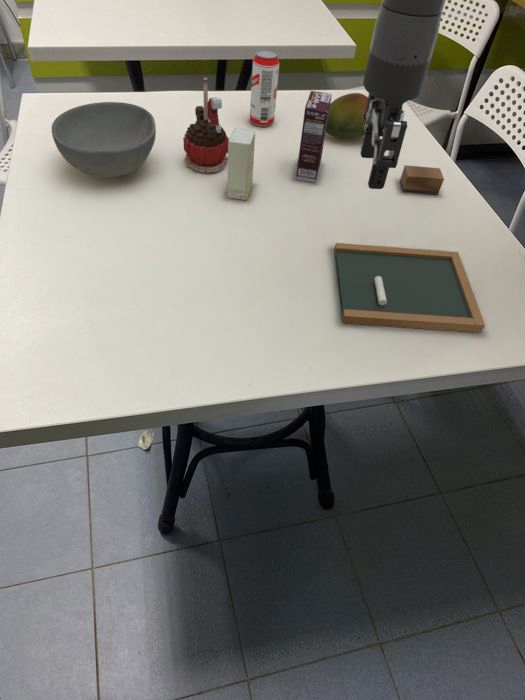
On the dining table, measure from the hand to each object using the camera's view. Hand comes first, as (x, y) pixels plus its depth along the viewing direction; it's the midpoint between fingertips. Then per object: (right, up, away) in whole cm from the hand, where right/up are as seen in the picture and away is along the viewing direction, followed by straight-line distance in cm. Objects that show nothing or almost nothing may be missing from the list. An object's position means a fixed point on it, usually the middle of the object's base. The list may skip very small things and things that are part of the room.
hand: (371, 171), depth 73 cm
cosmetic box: (-21, +7, +32) cm, 39 cm away
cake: (-29, +15, +38) cm, 50 cm away
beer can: (-16, +32, +53) cm, 64 cm away
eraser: (+19, +10, +38) cm, 44 cm away
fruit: (+5, +27, +51) cm, 58 cm away
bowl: (-49, +13, +34) cm, 61 cm away
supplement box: (-6, +14, +39) cm, 42 cm away
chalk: (+5, -16, +13) cm, 21 cm away
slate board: (+8, -15, +16) cm, 24 cm away
